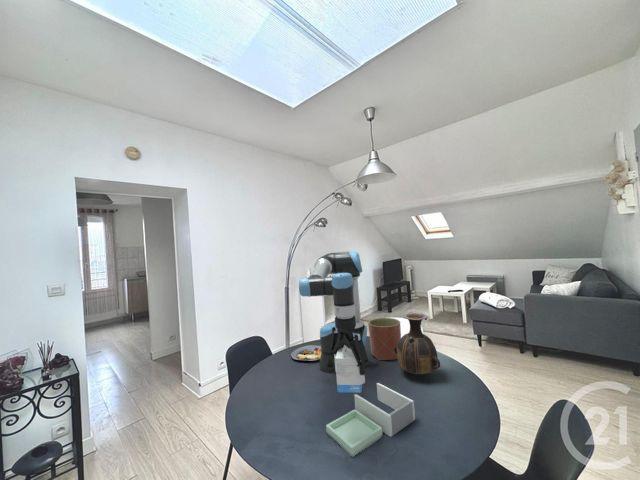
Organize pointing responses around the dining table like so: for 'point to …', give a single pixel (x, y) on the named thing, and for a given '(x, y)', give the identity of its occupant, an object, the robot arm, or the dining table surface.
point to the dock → (386, 421)
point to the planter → (384, 337)
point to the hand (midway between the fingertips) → (349, 377)
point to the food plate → (307, 353)
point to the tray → (354, 432)
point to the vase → (416, 348)
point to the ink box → (346, 371)
